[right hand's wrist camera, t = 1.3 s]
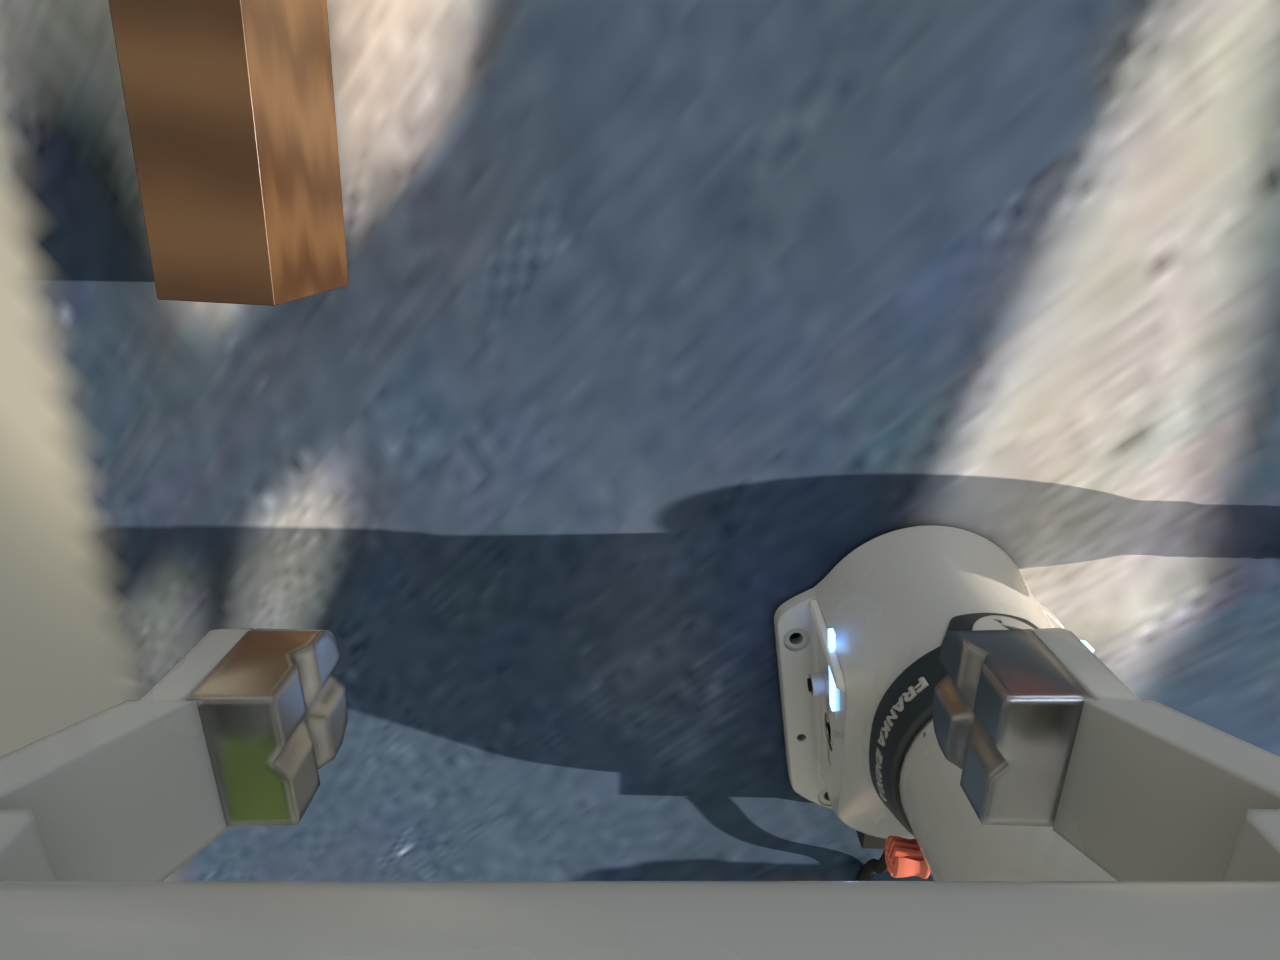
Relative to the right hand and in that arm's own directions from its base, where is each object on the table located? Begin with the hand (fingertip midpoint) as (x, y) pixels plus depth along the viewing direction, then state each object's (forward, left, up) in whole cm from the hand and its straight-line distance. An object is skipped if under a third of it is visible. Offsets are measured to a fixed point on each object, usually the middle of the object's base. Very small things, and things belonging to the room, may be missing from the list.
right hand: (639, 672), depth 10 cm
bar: (+12, +20, -35) cm, 42 cm away
